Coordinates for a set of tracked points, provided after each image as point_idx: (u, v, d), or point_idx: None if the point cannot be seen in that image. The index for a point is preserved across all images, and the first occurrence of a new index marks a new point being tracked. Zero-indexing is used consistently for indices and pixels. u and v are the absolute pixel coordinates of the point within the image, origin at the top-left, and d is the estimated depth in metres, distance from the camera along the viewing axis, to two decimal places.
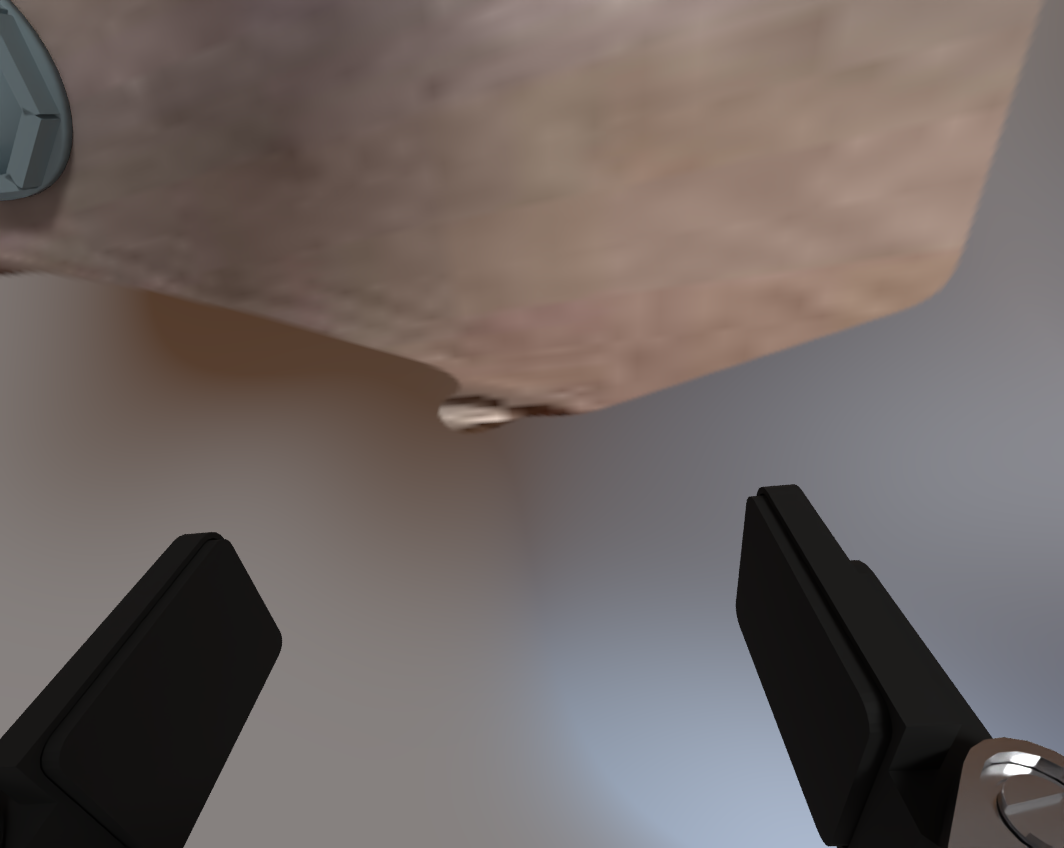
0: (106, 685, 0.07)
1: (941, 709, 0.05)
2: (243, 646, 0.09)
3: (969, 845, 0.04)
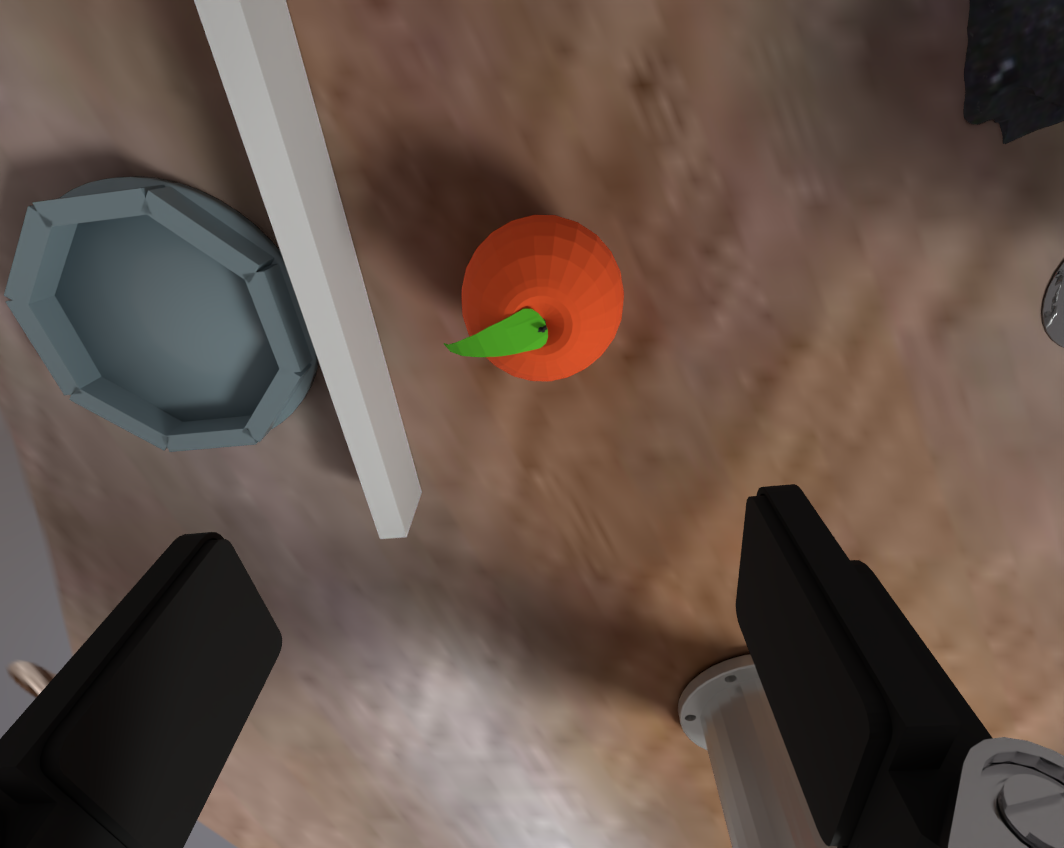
0: (106, 685, 0.07)
1: (941, 709, 0.05)
2: (243, 646, 0.09)
3: (969, 845, 0.04)
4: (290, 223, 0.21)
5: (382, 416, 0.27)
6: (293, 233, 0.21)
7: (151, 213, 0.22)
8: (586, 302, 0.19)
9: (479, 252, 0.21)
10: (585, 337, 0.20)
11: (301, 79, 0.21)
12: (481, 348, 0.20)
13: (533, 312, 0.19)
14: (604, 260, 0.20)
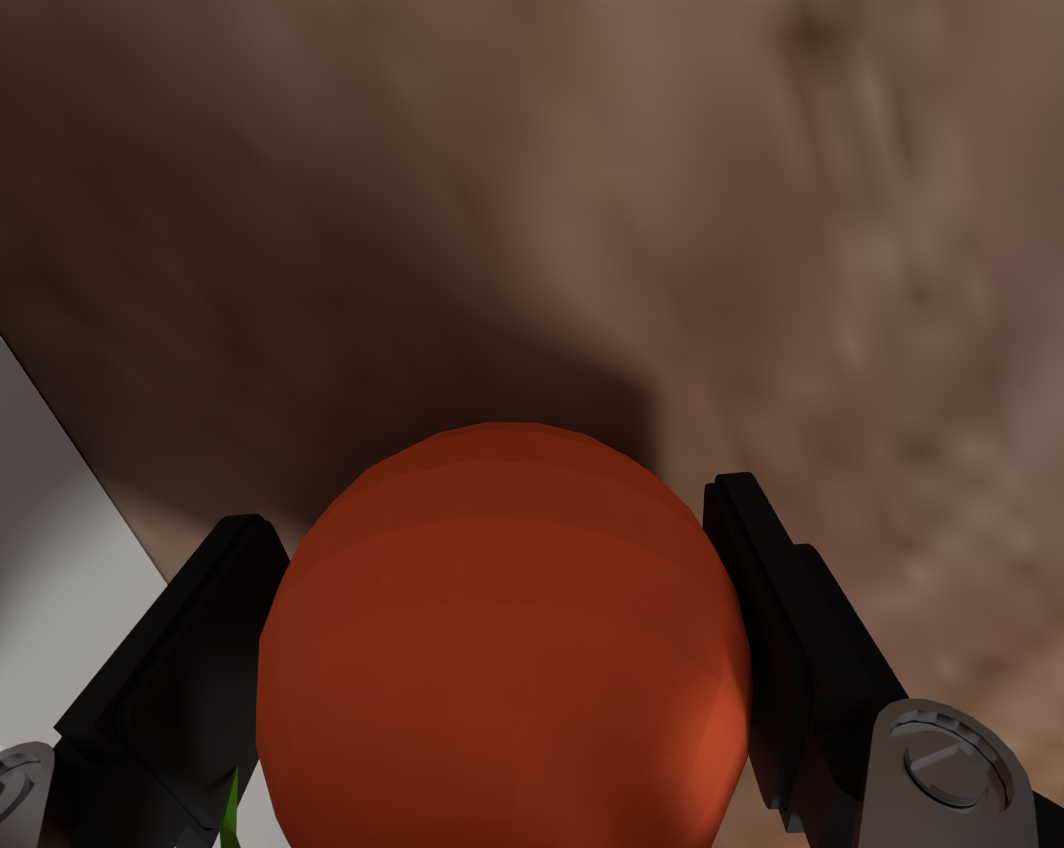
0: (168, 653, 0.07)
1: (857, 672, 0.05)
2: None
3: (872, 791, 0.05)
4: None
5: None
6: None
7: None
8: None
9: (288, 591, 0.06)
10: None
11: None
12: None
13: None
14: (713, 637, 0.06)
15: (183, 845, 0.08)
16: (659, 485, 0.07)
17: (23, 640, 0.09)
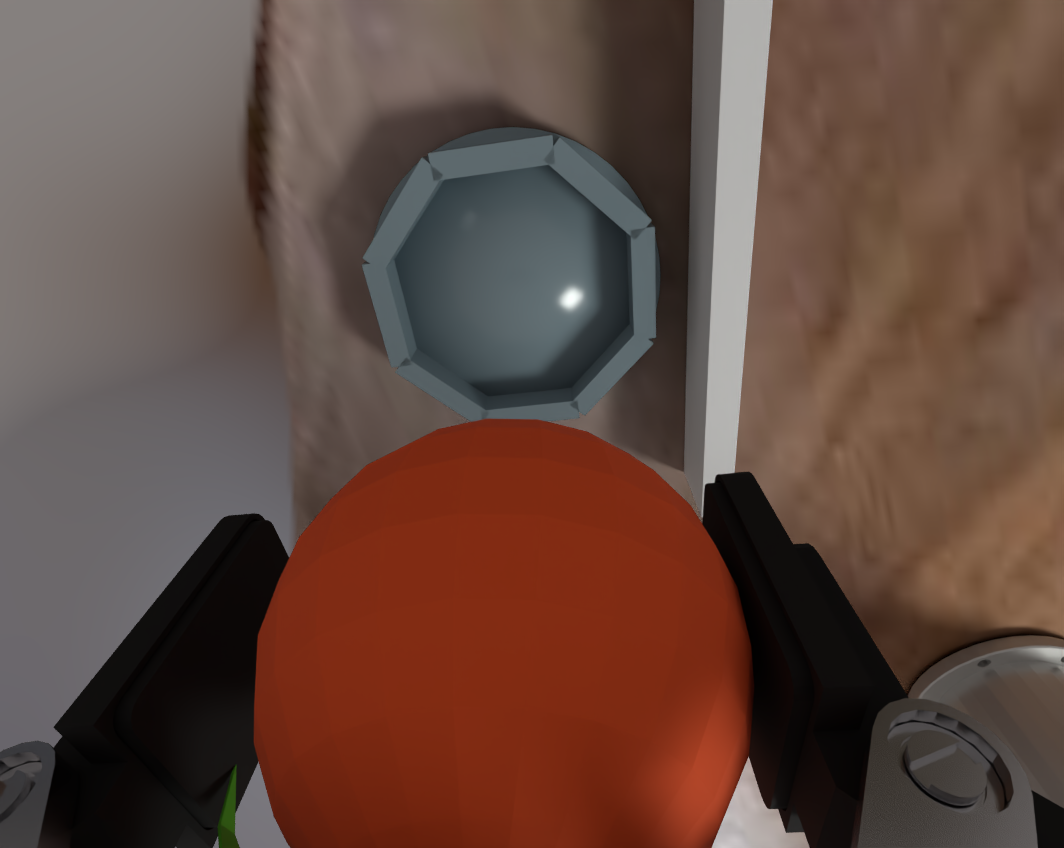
0: (168, 653, 0.07)
1: (857, 672, 0.05)
2: None
3: (871, 791, 0.05)
4: (738, 167, 0.19)
5: None
6: (737, 179, 0.19)
7: (554, 163, 0.21)
8: None
9: (286, 588, 0.06)
10: None
11: None
12: None
13: None
14: (714, 634, 0.06)
15: (184, 844, 0.08)
16: (659, 482, 0.07)
17: None
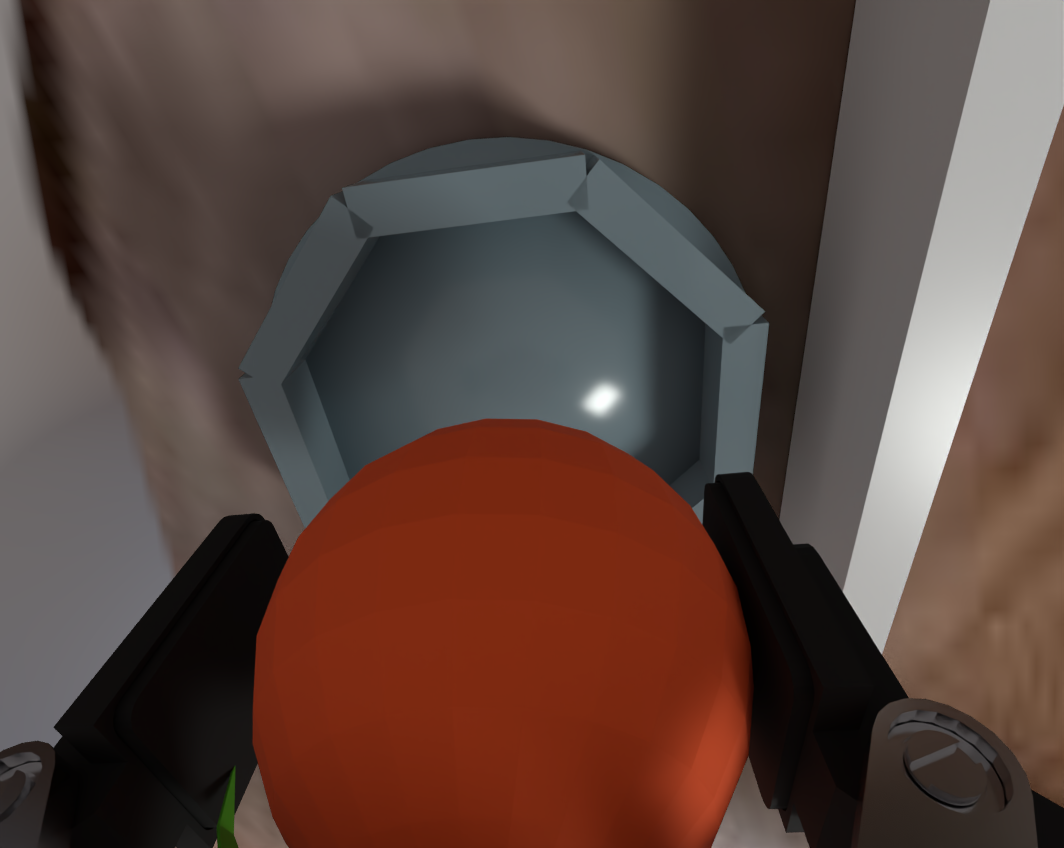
0: (168, 653, 0.07)
1: (857, 672, 0.05)
2: None
3: (871, 791, 0.05)
4: (979, 228, 0.09)
5: None
6: (971, 251, 0.09)
7: (587, 209, 0.11)
8: None
9: (285, 588, 0.06)
10: None
11: None
12: None
13: None
14: (713, 634, 0.06)
15: (184, 844, 0.08)
16: (659, 481, 0.07)
17: None
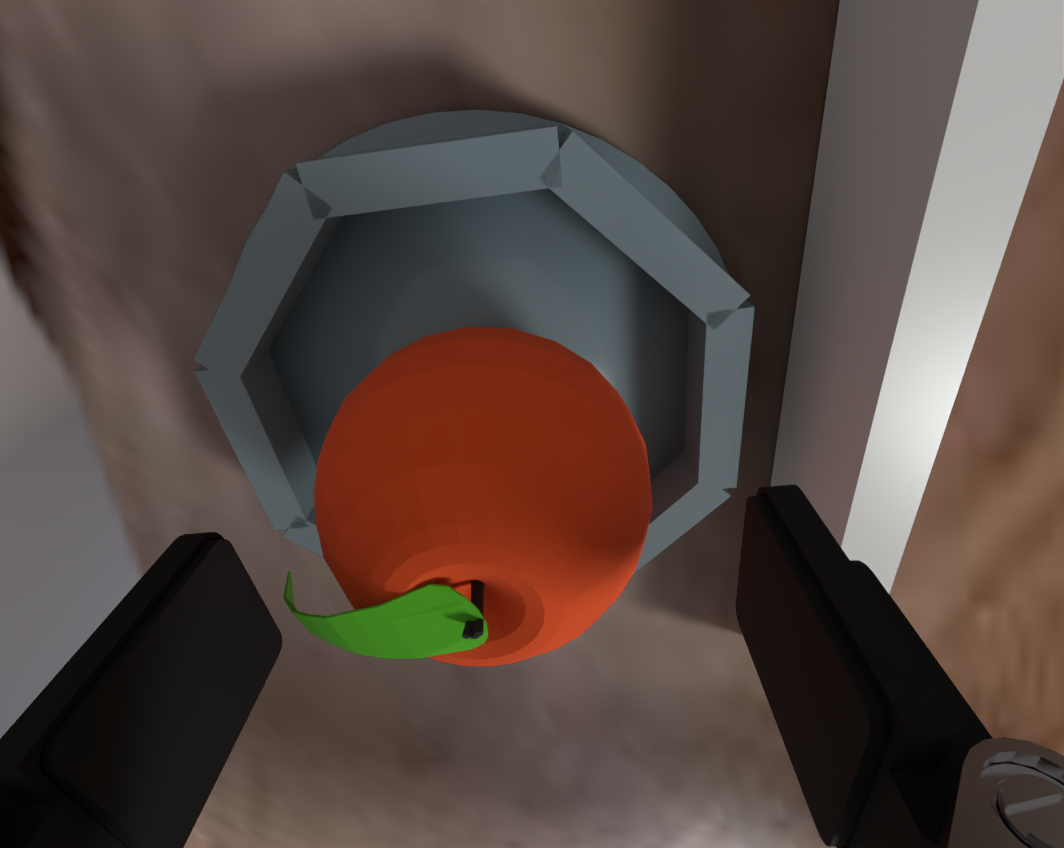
0: (106, 685, 0.07)
1: (941, 709, 0.05)
2: (243, 646, 0.09)
3: (969, 845, 0.04)
4: (975, 202, 0.08)
5: None
6: (967, 228, 0.09)
7: (560, 186, 0.10)
8: (578, 563, 0.08)
9: (341, 420, 0.09)
10: (573, 623, 0.09)
11: None
12: (342, 639, 0.09)
13: (452, 593, 0.08)
14: (618, 448, 0.09)
15: None
16: (593, 367, 0.10)
17: None
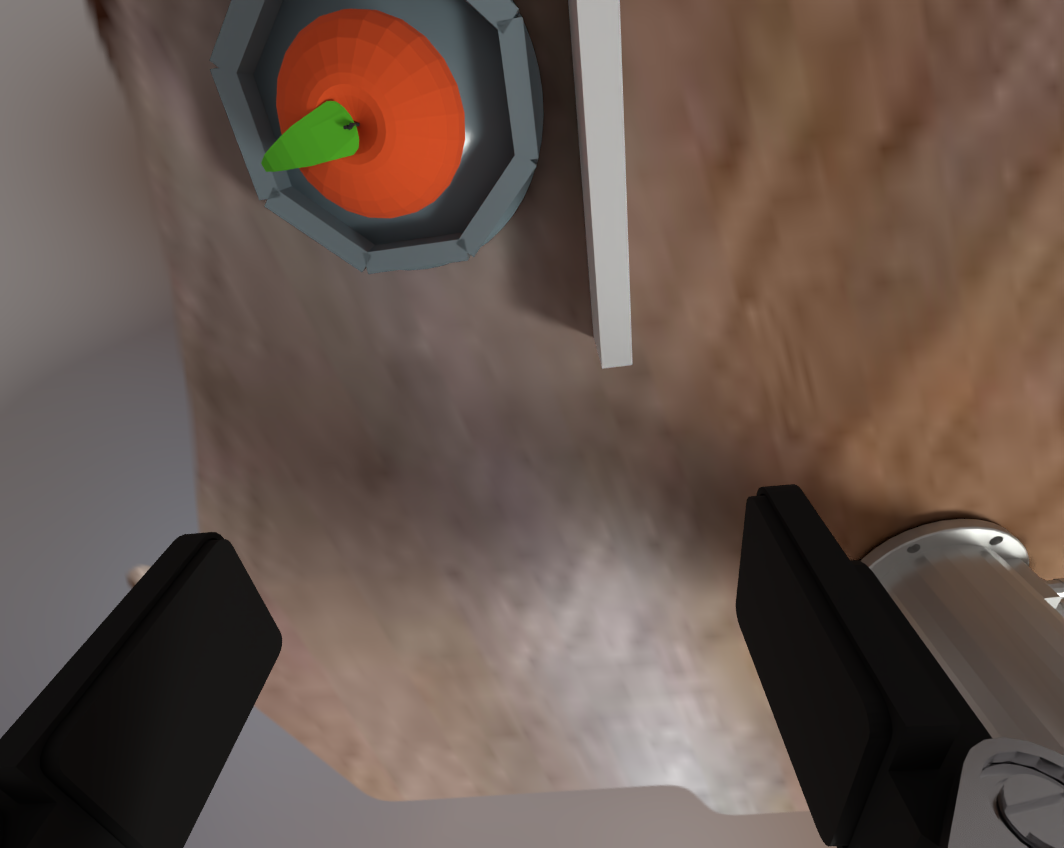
0: (106, 685, 0.07)
1: (941, 709, 0.05)
2: (243, 646, 0.09)
3: (969, 845, 0.04)
4: None
5: None
6: None
7: None
8: (400, 97, 0.17)
9: (288, 48, 0.18)
10: (405, 144, 0.18)
11: None
12: (289, 156, 0.18)
13: (338, 105, 0.17)
14: (427, 57, 0.18)
15: None
16: None
17: None
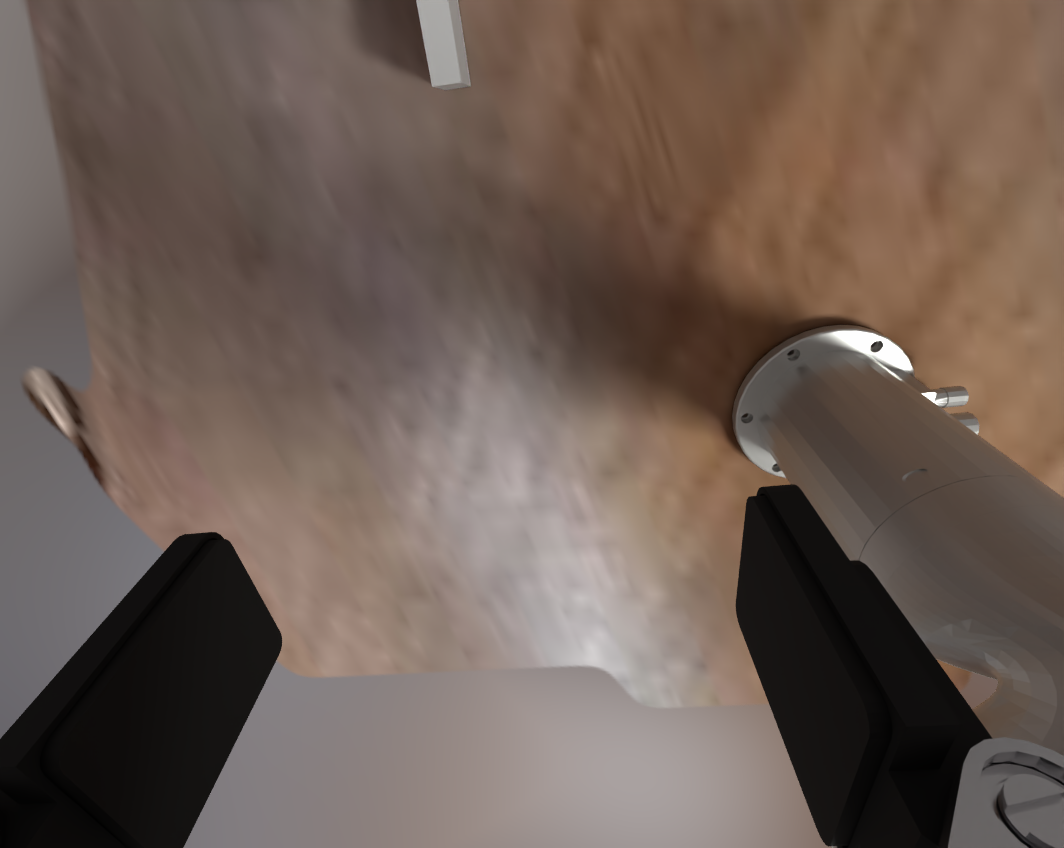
0: (106, 685, 0.07)
1: (941, 709, 0.05)
2: (243, 646, 0.09)
3: (969, 845, 0.04)
4: None
5: None
6: None
7: None
8: None
9: None
10: None
11: None
12: None
13: None
14: None
15: None
16: None
17: None
